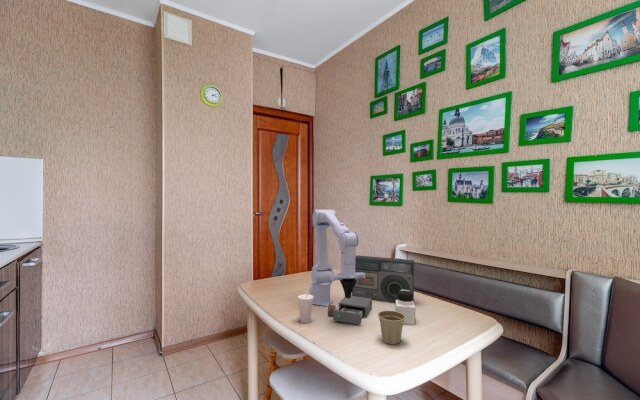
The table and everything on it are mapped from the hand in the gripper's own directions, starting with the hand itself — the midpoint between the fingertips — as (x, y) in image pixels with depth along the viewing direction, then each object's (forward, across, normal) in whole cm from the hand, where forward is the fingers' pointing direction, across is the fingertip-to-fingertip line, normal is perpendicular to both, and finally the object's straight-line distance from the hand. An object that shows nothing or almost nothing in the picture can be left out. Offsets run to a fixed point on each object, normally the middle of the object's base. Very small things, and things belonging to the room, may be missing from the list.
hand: (347, 297), depth 114 cm
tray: (+9, +3, +3) cm, 10 cm away
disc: (+8, +3, +3) cm, 10 cm away
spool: (+10, -3, +9) cm, 14 cm away
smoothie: (+10, -15, +8) cm, 20 cm away
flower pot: (+10, +8, -18) cm, 22 cm away
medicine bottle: (+10, +23, -6) cm, 26 cm away
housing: (+10, +10, +11) cm, 18 cm away
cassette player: (+10, +29, +20) cm, 37 cm away
